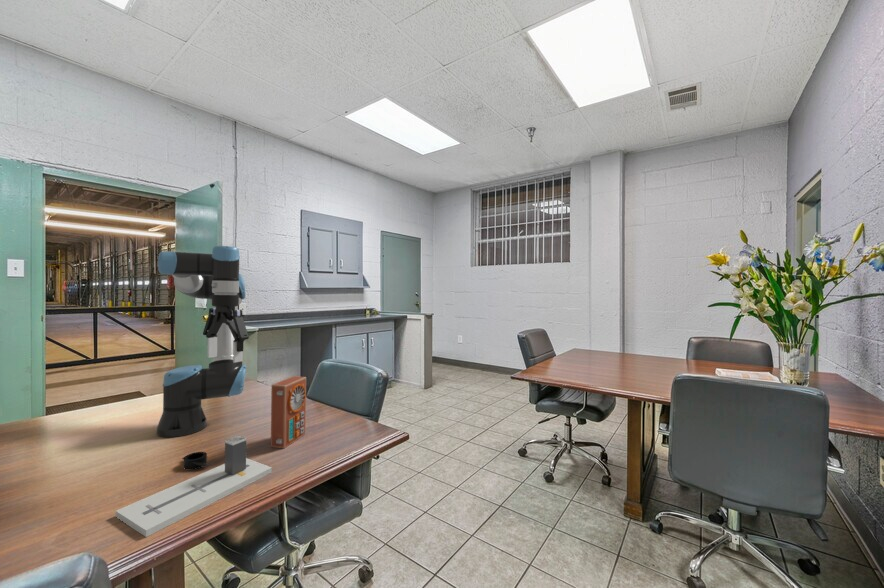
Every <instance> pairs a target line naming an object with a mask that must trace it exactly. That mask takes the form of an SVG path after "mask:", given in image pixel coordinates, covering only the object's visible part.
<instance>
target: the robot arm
mask: <svg viewBox="0 0 884 588" xmlns="http://www.w3.org/2000/svg"><path fill="white" fill-rule="evenodd" d="M240 257H241V256H240V249H239V248H238V247H236V246H229V245H216V246H215V245H214V246H213V247H212V253H199V252H187V251H186V252H183V251H174V250H171V251H168V250H167V251H166V250H165V251H164V250H163V251H160V252H159V254H158V257H157V267H158V272H159V274H161V275H168V276H172V278H173V284H174V287H175V289H176V290H177V291H179V292H180V293H182V295H183V294H184V295H186V296H189V297H192V298H195V299H202V300H207V299H208V300H210V303H211V306H212V307H210V308H209V309H208V316H207V320H206V321H205V326H204V328H203V332H202V335H203V336H205V337H206V338H207V345H206V346H207V353H206V354H207V358H208V359H209V358H213V359H212V360H211V361H210V362H209V363H208V367H207V368H203V367H202V365H201V364H190V365H185V366H180V367H176V368H173V369H170V370H168V371H167V372H166V373H165V374H164V375H163V383H162V389H163V395H162V397H163V399H162V402H163V403H162V404H163V405H162V407H163V408H162V414H161V416H160V419H159V421H158V424H157V426H156V435H157V434H158V435H159V437H161V436H162V437H161V438H176V437H182V436H187V435H191V434H194V433H198V432H199V431H201V430H202V431H203V429H205V428H206V427H207V417H206V415H205V411H204V409H203V406H202V400H209V399H210V400H211V399H217V398H224V397H225V398H227V397H229V398H230V397H234V396H238V395H241V394H242V393H243V392H244V386H245V378H246V372H247V365H245V364H243V360H244V341H245V340H249V339H250V338H249V333H248V331H247V327H246V324H245V320H244V317H243V310H242V309H239V305H241V304H242V303H243V302H242V301H243V300H245V299H246V288H245V287H246V285H245V280H244V277H243V275H242V274H241V273H240V259H241V258H240ZM158 435H157V436H158Z"/></svg>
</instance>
